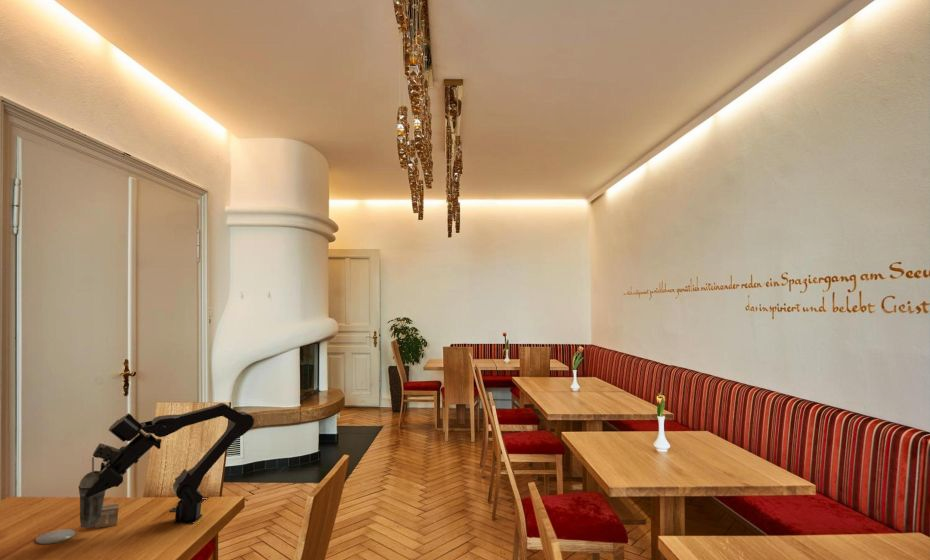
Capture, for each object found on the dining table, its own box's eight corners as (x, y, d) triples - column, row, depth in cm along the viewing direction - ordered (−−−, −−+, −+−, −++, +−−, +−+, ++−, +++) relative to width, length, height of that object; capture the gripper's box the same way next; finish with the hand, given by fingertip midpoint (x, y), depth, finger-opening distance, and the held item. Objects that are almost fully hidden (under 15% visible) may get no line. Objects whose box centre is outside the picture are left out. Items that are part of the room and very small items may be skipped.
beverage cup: (110, 521, 152) (116, 454, 154) (90, 530, 145) (97, 460, 147) (88, 519, 153) (95, 452, 155) (67, 529, 146) (74, 459, 147)
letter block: (96, 522, 160) (98, 504, 160) (117, 519, 163) (118, 502, 163) (95, 529, 155) (97, 510, 155) (116, 525, 158) (118, 507, 158)
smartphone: (168, 511, 170) (191, 495, 185) (167, 513, 170) (190, 497, 185) (189, 511, 170) (210, 496, 185) (189, 513, 170) (210, 498, 185)
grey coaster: (82, 531, 153) (82, 529, 153) (60, 544, 144) (60, 542, 144) (51, 531, 152) (51, 529, 152) (27, 544, 143) (27, 542, 143)
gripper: (114, 428, 161) (68, 467, 154) (112, 440, 145) (60, 485, 138) (141, 450, 165) (97, 489, 158) (142, 464, 149) (93, 509, 142)
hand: (87, 492), depth 149 cm, fingers closed on beverage cup, 7 cm apart
